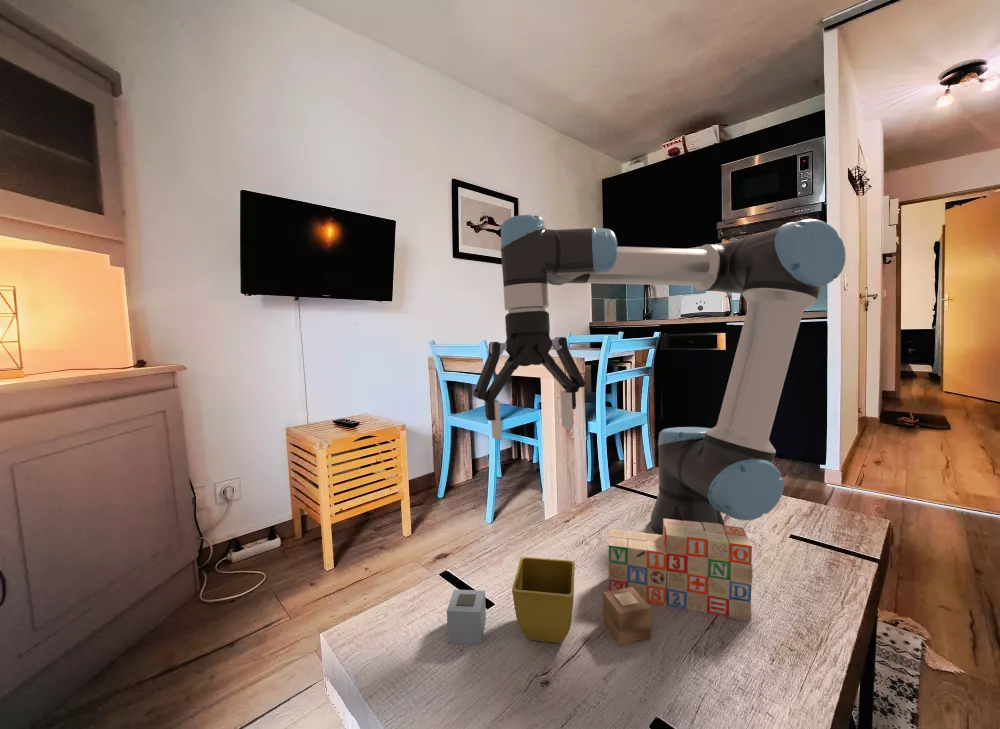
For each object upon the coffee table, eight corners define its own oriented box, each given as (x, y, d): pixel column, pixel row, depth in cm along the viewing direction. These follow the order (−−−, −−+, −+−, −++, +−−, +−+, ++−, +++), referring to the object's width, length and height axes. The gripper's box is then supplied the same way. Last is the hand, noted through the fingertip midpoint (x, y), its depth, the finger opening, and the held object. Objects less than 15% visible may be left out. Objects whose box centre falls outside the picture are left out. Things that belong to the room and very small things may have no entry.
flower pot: (575, 656, 57) (573, 595, 56) (513, 649, 59) (511, 589, 58) (576, 614, 66) (574, 560, 65) (522, 608, 67) (520, 556, 67)
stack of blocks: (608, 597, 70) (607, 527, 69) (610, 576, 75) (609, 511, 75) (751, 621, 63) (753, 544, 62) (742, 596, 69) (742, 525, 68)
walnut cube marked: (632, 616, 65) (632, 585, 64) (650, 640, 60) (650, 606, 59) (603, 622, 64) (603, 591, 63) (619, 646, 59) (619, 612, 58)
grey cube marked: (486, 620, 65) (484, 589, 64) (481, 644, 60) (480, 611, 60) (455, 619, 65) (453, 588, 65) (448, 643, 60) (446, 610, 60)
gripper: (579, 309, 78) (584, 419, 79) (450, 315, 69) (459, 438, 71) (601, 306, 71) (606, 427, 72) (461, 313, 62) (470, 449, 64)
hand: (533, 433), depth 72 cm, fingers open, 13 cm apart
